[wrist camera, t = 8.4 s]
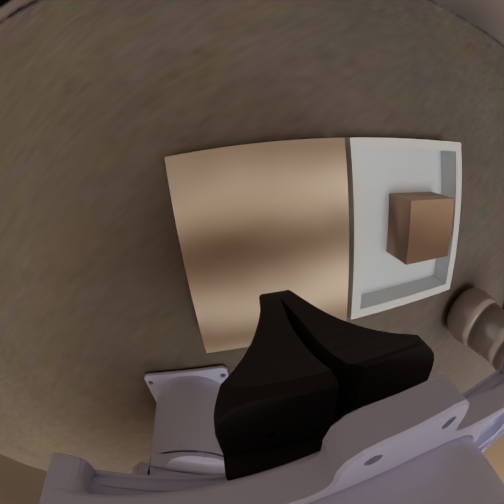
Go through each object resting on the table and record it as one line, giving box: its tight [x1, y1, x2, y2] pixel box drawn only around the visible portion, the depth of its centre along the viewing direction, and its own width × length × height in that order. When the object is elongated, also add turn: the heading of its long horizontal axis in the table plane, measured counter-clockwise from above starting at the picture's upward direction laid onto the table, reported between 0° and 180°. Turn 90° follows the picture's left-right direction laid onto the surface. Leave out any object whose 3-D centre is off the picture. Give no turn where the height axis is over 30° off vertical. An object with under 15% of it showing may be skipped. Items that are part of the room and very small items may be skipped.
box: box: [345, 137, 462, 319], centre depth 21 cm, size 14×12×2 cm
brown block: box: [386, 192, 454, 265], centre depth 20 cm, size 5×5×3 cm
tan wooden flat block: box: [164, 138, 349, 353], centre depth 20 cm, size 14×11×3 cm
